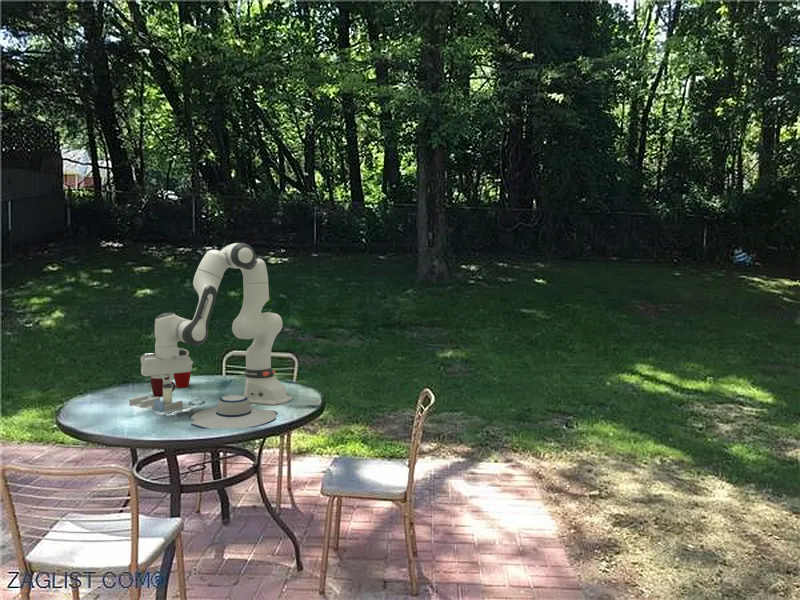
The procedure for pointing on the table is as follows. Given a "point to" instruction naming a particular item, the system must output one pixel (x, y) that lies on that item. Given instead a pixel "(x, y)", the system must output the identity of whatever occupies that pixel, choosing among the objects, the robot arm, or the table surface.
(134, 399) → the stepped cream block
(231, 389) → the table surface
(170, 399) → the grey-capped cream cylinder
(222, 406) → the sun hat
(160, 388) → the mug
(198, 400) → the table surface
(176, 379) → the plastic cup
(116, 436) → the table surface
